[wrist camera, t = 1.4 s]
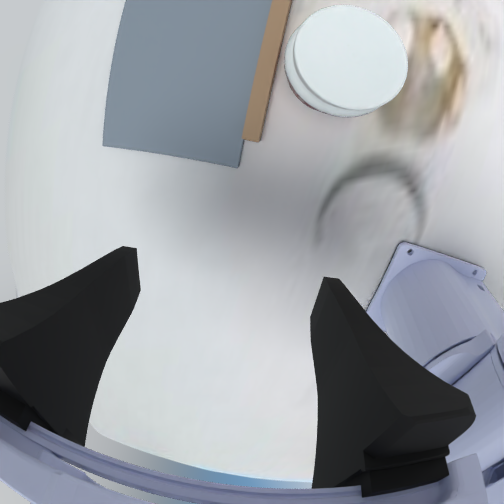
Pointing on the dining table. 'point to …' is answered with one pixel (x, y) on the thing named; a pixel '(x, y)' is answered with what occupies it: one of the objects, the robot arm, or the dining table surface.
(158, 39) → the slate mat
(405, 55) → the pill bottle
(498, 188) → the dining table surface
